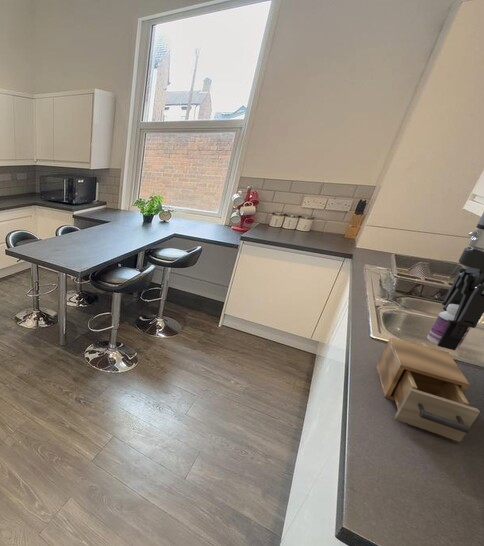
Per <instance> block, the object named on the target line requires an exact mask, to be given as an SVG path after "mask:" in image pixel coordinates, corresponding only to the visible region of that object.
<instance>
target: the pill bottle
mask: <svg viewBox="0 0 484 546" xmlns="http://www.w3.org/2000/svg"><path fill="white" fill-rule="evenodd" d="M458 308H459V305H457V304H449V305H448V307H447V308H446V310H447V311H444V310H442V311H440V312H439V313H438V315H437V317H436V319H435V321H434V323H433V325H432V327H431V328H430V331H429V333H428V334H427V336H426V338H427V339H428V341H430V342H431V343H432V344H435V345H437V344H438V343H439V341H440V339H441V337H442V335H443V333H444V332H445V330H446V328H447V326H448V324H449V322H448V320H454V317H455V315H456V312H457V310H458ZM471 329H472V327H468V329H467V331H466V332H465V334H464V336H463V338H462V339H461V341H460V343H459V345H458V346H457V348H456V349H458V348H460V347H461V346H462V343H463V342H464V340H465V338H466V337H467V335H468V334H469V331H470V330H471Z"/></svg>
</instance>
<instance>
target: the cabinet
mask: <svg viewBox="0 0 484 546" xmlns="http://www.w3.org/2000/svg"><path fill="white" fill-rule="evenodd" d="M375 368H376V372H377V375H378V378H379V382H380V387H381V391H382V393H383V397H384V398H385V399H388V400H391V401H394V402H395V399H394V396H393V393H392V392H393V390H394V388H395V386H396V384H397V382H398V380H399V378H400V376H401V374H402V372H403V370H404V369H406V370H409V371H413V372H416V373H420V374H423V375H427V376H430V377H434V378H437V379H441V380H444V381H448V382H451V383H454V384H458V386H459V388H460V389H461V391H462V393H463V394H465V393H466V392H467V390H468V388H469V386H470V385H471V384H470V383H469V381H468V380H467V378H466V377H465V375H464V374H463V372H462V371H461V369H460V368H459V366H458V364H457V363H456V361H455V360H454V359H453V357H452V355H451V354H450V352H449V351H445V350H441V349H437V348H433V347H430V346H426V345H422V344H417V343H414V342H410V341H406V340H401V339H397V338H394V337H389V339H388V341H387V343H386V345H385V347H384V349H383V352H382V353H381V356H380V358H379V360H378V362H377V365H376V367H375Z"/></svg>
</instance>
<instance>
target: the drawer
mask: <svg viewBox="0 0 484 546" xmlns="http://www.w3.org/2000/svg"><path fill="white" fill-rule="evenodd" d="M392 393H393V396H394V399H395V401H394V403H395V405H396V408H397V411H396V413H395V415H394V418H395V419H396V420H398V421H399V422H403V423H406V424H408V425H411V426H414V427H417V428H419V429H423V430H426V431H428V432H430V433H433V434H435V435H439V436H441V437H445V438H447V439H451V440H453V441H456V442H459V443H461V441H462V440H463V439H464V437H465V435H466V434H468V433H469V432H470V431H471V427H472V425H473V424H474V423H475V421H476V420H477V417H478V416H479V414H480V413H481V411H480V410H479V408H478V407H477V408H476V407H473V406H470V403H469V401H468V399H467V397H466V396H465V395H464V394H465V393H464V394H463V393H462V391H461V389H460V388H459V386H458V384H454V383H451V382H448V381H444V380H441V379H437V378H434V377H430V376H427V375H423V374H420V373H416V372H413V371H409V370H406V369H404V370H403V372H402V374H401V376H400V378H399V380H398V382H397V384H396V386H395V388H394V390H393V392H392Z"/></svg>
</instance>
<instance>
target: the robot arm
mask: <svg viewBox="0 0 484 546" xmlns="http://www.w3.org/2000/svg"><path fill="white" fill-rule="evenodd" d="M468 236H469V237H470V238H469V241H468V242H467V245H468V246H466V247H465V248H464V249H463V251H462V253H461V255H460V257H459V259H458V263H459V264H460V265H462V266H465V267H467V268H465V267H464V268H463V267H460V268H459V269H458V271H457V275H456V277H455V279H454V280H453V282H452V285H451V287H450V288H449V290H448V292H447V294H446V295H445V297H444V299H443V301H442V302H441V305H442V306H443V307H442V311H447V310H446V308H447V307H448V305H449V304H457V305H459V308H458V310H457V312H456V315H455V317H454V320H448V322H449V324H448V326H447V328H446V330H445V332H444V333H443V335H442V337H441V339H440V341H439V343H438V344H436V345H437V347H439V348H443V349H446V350H447V349H448V350H450V351H451V350H452V351H456V350H457V349H458V348H457V346H458V345H459V343H460V341H461V339H462V338H463V336H464V334H465V332H466V331H467V329H468V327H471V329H472V328H473V329H475V328H476V327H477V325H478V324H479V322H480V320H481V318H482V316H483V315H484V211H483V212H482V214H481V216H480V218H479V220H478V223H477V224H476V227H475V229H474V231H470V232H468Z"/></svg>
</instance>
